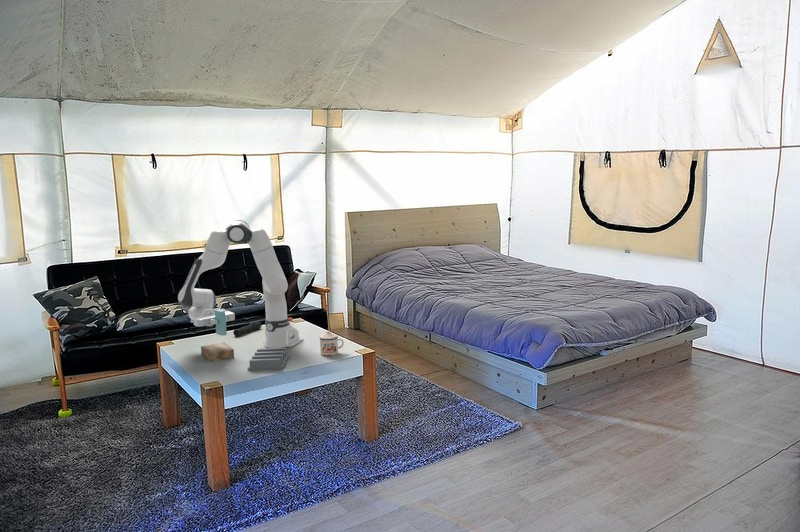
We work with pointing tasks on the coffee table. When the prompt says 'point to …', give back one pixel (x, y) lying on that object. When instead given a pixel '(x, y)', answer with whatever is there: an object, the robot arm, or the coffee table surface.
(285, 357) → the slotted rack
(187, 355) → the coffee table surface
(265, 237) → the robot arm
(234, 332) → the flashlight
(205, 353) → the block
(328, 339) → the teacup with lid
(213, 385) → the coffee table surface
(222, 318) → the aqua rubber eraser
